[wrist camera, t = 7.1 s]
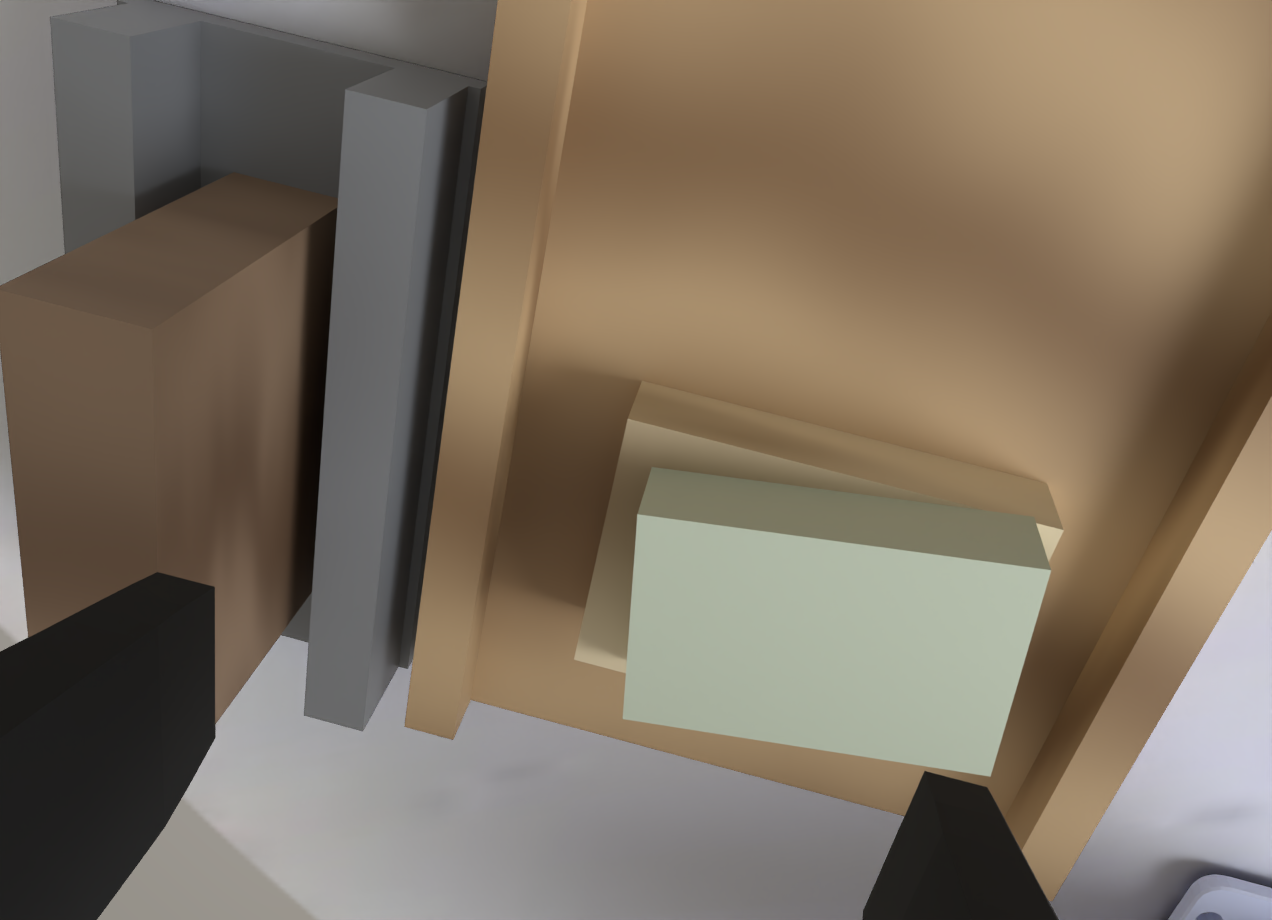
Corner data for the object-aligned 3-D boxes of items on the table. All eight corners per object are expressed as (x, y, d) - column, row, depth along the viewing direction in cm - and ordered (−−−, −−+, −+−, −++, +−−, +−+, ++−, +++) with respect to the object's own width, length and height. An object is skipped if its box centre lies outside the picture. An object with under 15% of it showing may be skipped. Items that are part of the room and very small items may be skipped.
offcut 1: (946, 704, 21) (953, 760, 19) (589, 611, 21) (573, 659, 20) (1046, 483, 18) (1063, 530, 17) (641, 380, 18) (627, 418, 17)
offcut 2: (979, 714, 19) (990, 776, 17) (636, 662, 19) (622, 718, 18) (1034, 516, 17) (1050, 570, 16) (651, 466, 17) (637, 514, 16)
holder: (417, 651, 23) (372, 733, 21) (152, 580, 24) (80, 654, 21) (491, 82, 18) (440, 113, 15) (138, -3, 18) (36, 13, 16)
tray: (1033, 815, 23) (1051, 901, 21) (439, 657, 23) (404, 726, 21) (1778, -549, 12) (1956, -630, 10) (646, -786, 13) (613, -904, 11)
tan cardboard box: (320, 580, 22) (161, 797, 17) (226, 555, 22) (40, 763, 17) (347, 200, 18) (152, 329, 13) (234, 172, 18) (-6, 288, 13)
